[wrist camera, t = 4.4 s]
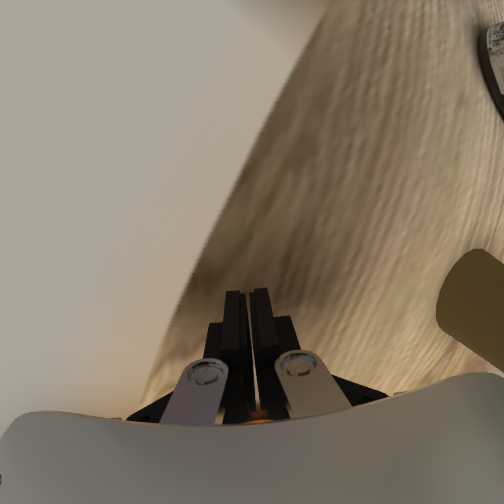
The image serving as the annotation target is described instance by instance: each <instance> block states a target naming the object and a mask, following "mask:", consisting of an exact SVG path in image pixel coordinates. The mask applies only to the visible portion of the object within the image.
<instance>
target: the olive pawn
mask: <svg viewBox="0 0 504 504" xmlns="http://www.w3.org/2000/svg"><path fill="white" fill-rule="evenodd" d="M436 319H437V322H438V325H439V327H440V328H441V329H442V330H443V331H444V332H446V333H447V334H449V335H450V336H452V337H453V338H454V339H456V340H457V341H459V342H460V343H462V344H463V345H465V346H466V347H468V348H469V349H471V350H472V351H473V352H475V353H476V354H478V355H479V356H481V357H482V358H483V359H485V360H486V361H488V362H489V363H491V364H492V365H493V366H495V367H496V368H498V369H499V370H500V371H502V372H503V373H504V264H503V263H502V262H500V261H499V260H498V259H496V258H495V257H494V256H492V255H491V254H490V253H488V252H486V251H485V250H483V249H473V250H472V251H470V252H468V253H466V254H464V255H463V257H462V258H461V259H460V260H459V261H458V262H457V263H456V264H455V265H454V266H453V268H452V270H451V271H450V273H449V274H448V276H447V277H446V279H445V282H444V284H443V286H442V288H441V291H440V294H439V298H438V302H437V309H436Z"/></svg>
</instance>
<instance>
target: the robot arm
mask: <svg viewBox="0 0 504 504" xmlns="http://www.w3.org/2000/svg"><path fill="white" fill-rule="evenodd" d="M249 297H250V312H251V326H252V340H253V351H254V360H255V368H256V376H257V384H258V392H259V399H260V407H261V411H265V410H267V415H268V418H271V419H272V420H274V421H265V422H254V423H244V422H246V421H247V420H251V412H255V411H256V400H255V386H254V371H253V356H252V345H251V337H250V329H249V321H248V313H247V305H246V296H245V293H242V294H240V290H237V291H226V299H225V308H224V318H223V322H219V323H210V324H209V327H208V333H207V339H206V344H205V350H204V356H203V359H200V360H197V361H194V362H192V363H191V364H189V365H188V366H187V367H186V368H185V369H184V371H183V373H182V375H181V377H180V379H179V381H178V383H177V385H176V388H175V390H174V391H172V392H171V393H169V394H167V395H165V396H164V397H162V398H160V399H159V400H157V401H155V402H153V403H152V404H150V405H148V406H146V407H144V408H143V409H141V410H139V411H137V412H135V413H134V414H132V415H131V416H129V417H128V418H127V419H126V420H122V418H103V417H96V416H89V415H83V414H77V413H71V412H70V413H69V412H62V411H38V412H30V413H27V414H23V415H21V416H19V417H17V418H16V419H15V420H14V421H13V422H12V423H11V424H10V426H9V427H8V428H7V429H6V431H5V432H4V433H3V435H2V436H1V438H0V504H504V378H502V377H501V376H499V375H496V374H493V373H468V374H462V375H458V376H453V377H450V378H446V379H443V380H439V381H436V382H433V383H430V384H428V385H425V386H422V387H418V388H415V389H412V390H409V391H404V392H396V393H394V394H393V396H390V397H389V396H388V395H387V394H385V393H383V392H380V391H377V390H374V389H371V388H368V387H365V386H362V385H359V384H357V383H354V382H351V381H348V380H345V379H342V378H340V377H337V376H334V375H332V374H330V372H329V371H328V369H327V367H326V366H325V364H324V363H323V361H322V360H321V358H320V357H319V356H318V355H317V354H315V353H313V352H311V351H307V350H301V348H300V345H299V342H298V339H297V336H296V332H295V329H294V326H293V323H292V320H291V317H290V315H288V316H280V317H273V312H272V308H271V303H270V298H269V294H268V289H267V287H266V288H256V289H254V292H251V293H249Z"/></svg>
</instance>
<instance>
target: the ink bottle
mask: <svg viewBox="0 0 504 504" xmlns="http://www.w3.org/2000/svg"><path fill="white" fill-rule="evenodd" d="M479 51H480V58H481V63H482V67H483V71H484V74H485V77H486V80H487V82H488V85H489V87H490V90H491V92H492V94H493V96H494V98H495V101H496V103H497V105H498V107H499V109H500V111H501V112H502V114H503V116H504V22H501V23H498V24H495V25H492V26H490V27H488V28H486V29H484V30H483V32H482V33H481V36H480V41H479Z"/></svg>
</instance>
